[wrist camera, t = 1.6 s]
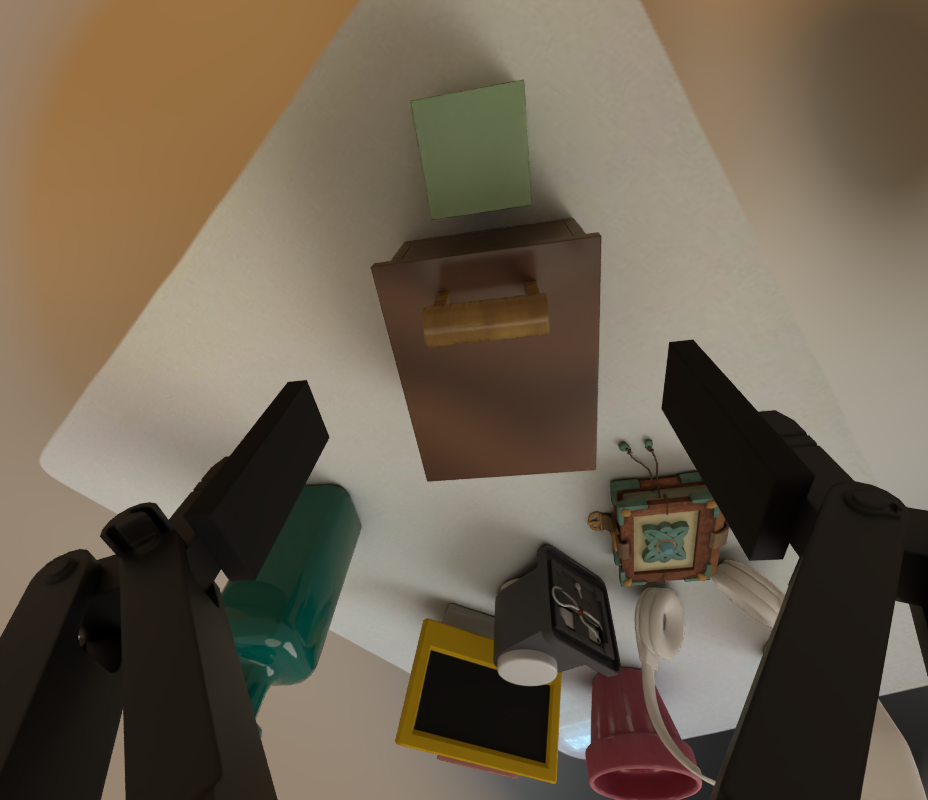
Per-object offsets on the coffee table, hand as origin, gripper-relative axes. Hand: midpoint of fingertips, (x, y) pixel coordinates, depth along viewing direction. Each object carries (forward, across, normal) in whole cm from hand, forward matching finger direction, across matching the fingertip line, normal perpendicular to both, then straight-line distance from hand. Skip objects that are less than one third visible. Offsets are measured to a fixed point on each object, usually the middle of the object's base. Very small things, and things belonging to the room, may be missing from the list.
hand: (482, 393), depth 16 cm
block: (+20, 0, +7) cm, 21 cm away
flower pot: (+21, +13, -68) cm, 72 cm away
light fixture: (+20, +2, -42) cm, 46 cm away
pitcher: (+20, -23, -26) cm, 40 cm away
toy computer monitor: (+20, -7, -52) cm, 56 cm away
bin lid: (+11, 0, -6) cm, 13 cm away
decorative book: (+20, +14, -28) cm, 37 cm away
